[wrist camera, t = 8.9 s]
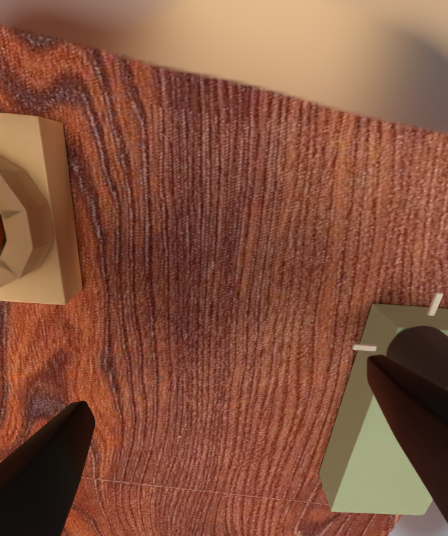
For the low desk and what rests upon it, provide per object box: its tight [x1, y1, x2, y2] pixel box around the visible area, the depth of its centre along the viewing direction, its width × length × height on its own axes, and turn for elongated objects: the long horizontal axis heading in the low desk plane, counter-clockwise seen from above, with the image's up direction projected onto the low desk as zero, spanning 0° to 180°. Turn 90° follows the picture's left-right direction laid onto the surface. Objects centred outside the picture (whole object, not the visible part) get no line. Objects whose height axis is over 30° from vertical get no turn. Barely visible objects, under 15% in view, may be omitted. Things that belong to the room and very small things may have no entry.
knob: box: [386, 326, 448, 389], centre depth 14 cm, size 4×4×4 cm
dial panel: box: [319, 293, 448, 515], centre depth 20 cm, size 20×10×3 cm, turn 175°
